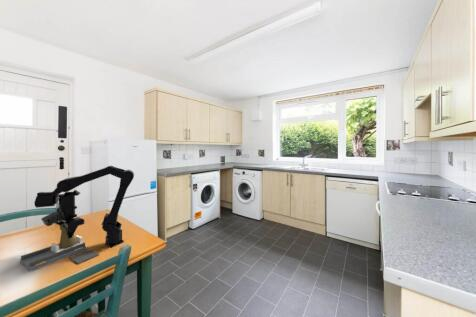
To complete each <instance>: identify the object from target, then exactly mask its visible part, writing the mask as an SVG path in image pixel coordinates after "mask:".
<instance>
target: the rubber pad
mask: <svg viewBox="0 0 476 317" xmlns="http://www.w3.org/2000/svg"><path fill="white" fill-rule="evenodd" d="M99 256H100V254H99V253H98V252H96V251H94V250H92V249H86V250H84V251H81V252H79V253H76V254H74V255H71V256H69V259H70V260H71V261H72V262H74V263H76V264H77V265H80V264H82V263H84V262H87V261H90V260H92V259H94V258H97V257H99Z"/></svg>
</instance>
